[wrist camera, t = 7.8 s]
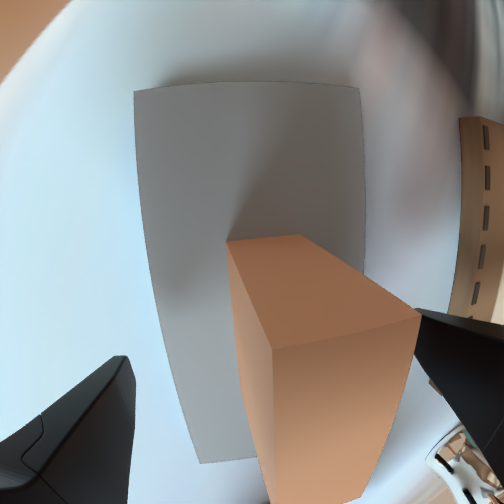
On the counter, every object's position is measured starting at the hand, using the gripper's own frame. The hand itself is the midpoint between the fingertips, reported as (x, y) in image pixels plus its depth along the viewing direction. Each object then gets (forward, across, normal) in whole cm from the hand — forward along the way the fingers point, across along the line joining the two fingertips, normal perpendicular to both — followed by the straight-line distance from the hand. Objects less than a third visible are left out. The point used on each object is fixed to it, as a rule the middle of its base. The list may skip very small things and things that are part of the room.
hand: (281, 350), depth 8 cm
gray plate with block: (+4, 0, 0) cm, 4 cm away
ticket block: (+4, -16, 0) cm, 17 cm away
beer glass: (+4, -18, +20) cm, 28 cm away
